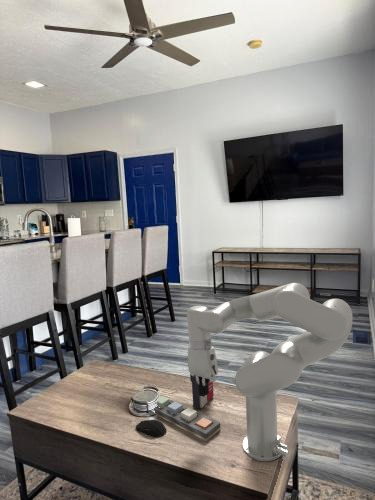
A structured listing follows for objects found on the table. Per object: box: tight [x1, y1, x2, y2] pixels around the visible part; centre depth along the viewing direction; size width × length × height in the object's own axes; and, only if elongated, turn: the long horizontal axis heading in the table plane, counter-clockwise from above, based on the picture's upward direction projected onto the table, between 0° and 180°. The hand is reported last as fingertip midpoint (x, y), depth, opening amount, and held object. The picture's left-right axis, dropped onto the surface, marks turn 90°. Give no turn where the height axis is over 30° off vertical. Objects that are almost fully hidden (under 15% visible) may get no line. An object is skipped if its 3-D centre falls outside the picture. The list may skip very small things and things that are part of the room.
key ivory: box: [181, 407, 198, 422], centre depth 128 cm, size 4×4×2 cm
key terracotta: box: [196, 418, 212, 430], centre depth 124 cm, size 4×4×2 cm
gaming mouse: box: [135, 419, 167, 438], centre depth 126 cm, size 6×15×4 cm, turn 63°
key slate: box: [167, 401, 184, 415], centre depth 133 cm, size 4×4×2 cm
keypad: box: [154, 398, 222, 442], centre depth 131 cm, size 29×8×3 cm, turn 48°
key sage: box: [157, 395, 170, 408], centre depth 138 cm, size 4×4×2 cm
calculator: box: [189, 373, 214, 410], centre depth 142 cm, size 11×4×15 cm, turn 147°
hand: (204, 394), depth 122 cm, fingers closed
